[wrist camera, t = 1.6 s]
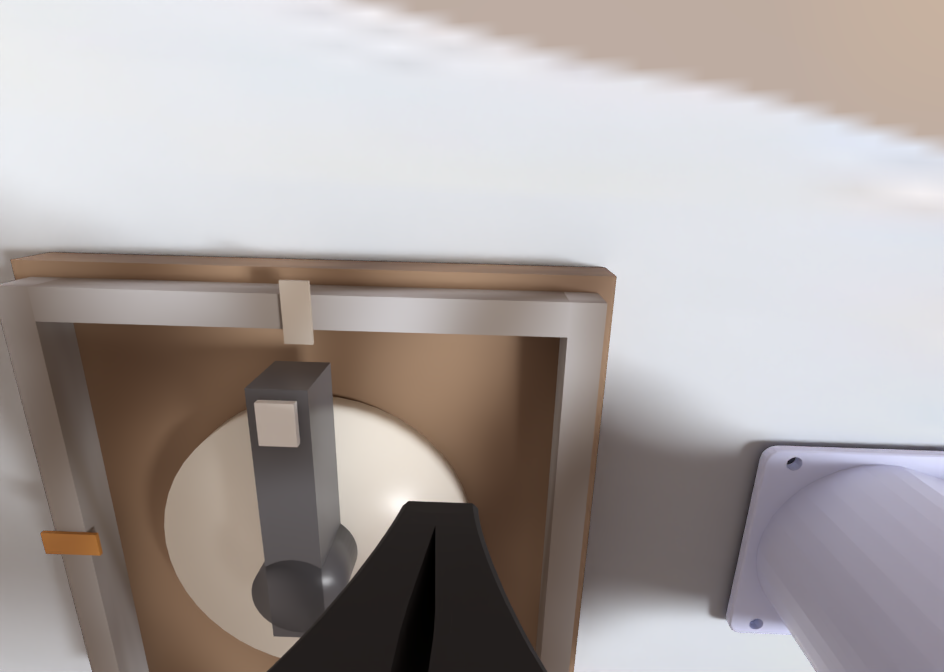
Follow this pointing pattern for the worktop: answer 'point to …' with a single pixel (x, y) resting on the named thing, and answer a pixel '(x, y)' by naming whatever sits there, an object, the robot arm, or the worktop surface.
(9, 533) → the worktop surface
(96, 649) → the dial housing
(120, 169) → the worktop surface
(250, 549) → the dial
